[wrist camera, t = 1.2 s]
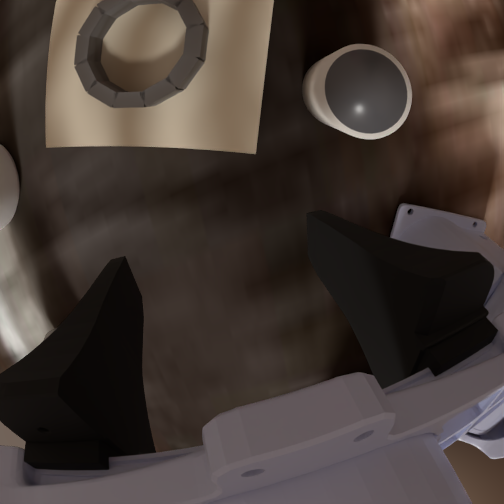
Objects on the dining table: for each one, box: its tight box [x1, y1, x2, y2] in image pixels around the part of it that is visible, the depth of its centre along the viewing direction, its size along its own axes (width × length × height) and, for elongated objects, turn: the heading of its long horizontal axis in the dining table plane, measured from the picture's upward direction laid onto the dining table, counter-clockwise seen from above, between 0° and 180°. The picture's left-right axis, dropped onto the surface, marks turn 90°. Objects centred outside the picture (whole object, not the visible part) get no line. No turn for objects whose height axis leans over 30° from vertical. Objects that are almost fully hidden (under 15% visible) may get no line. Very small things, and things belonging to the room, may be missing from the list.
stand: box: [46, 0, 274, 154], centre depth 16 cm, size 16×14×3 cm
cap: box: [302, 44, 412, 139], centre depth 16 cm, size 5×5×6 cm
